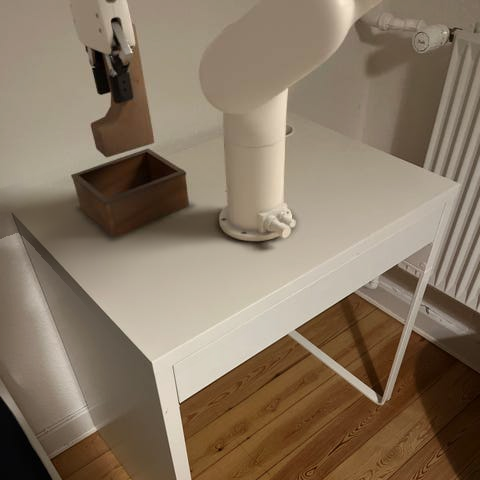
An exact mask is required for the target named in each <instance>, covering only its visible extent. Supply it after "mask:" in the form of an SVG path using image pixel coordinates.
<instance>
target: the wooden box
mask: <svg viewBox="0 0 480 480" xmlns="http://www.w3.org/2000/svg"><path fill="white" fill-rule="evenodd" d="M70 177H71V179H72V181H73V185H74V188H75V191H76V195H77V199H78V202H79V206H80V209H81V210H82V211H83V212H84V213H85V214H86V215H88V216H89V217H90V218H91V219H92V220H93V221H94V222H95V223H96V224H98V225H99V226H100V227H101V228H102V229H103V230H105V231H106V232H107V233H108V234H109V235H110V236H111V237H112V238H116V237H118V236H121V235H123V234H126V233H128V232H131V231H133V230H136V229H137V228H141V227H142V226H144V225H145V226H146V225H147V224H150V223H152V222H154V221H157V220H158V219H162V218H165V217H166V216H169V215H172V214H174V213H176V212H179V211H181V210H183V209H186V208H188V207H190V202H189V192H188V184H187V172H186V171H185V170H183V169H182V168H180V167H179V166H177V165H176V164H174V163H172V162H171V161H169V160H168V159H166V158H165V157H163V156H161V155H160V154H158V153H157V152H155V151H153V150H152V149H150V148H145V149H142V150H139V151H136V152H134V153H133V152H132V153H131V154H128V155H125V156H122V157H119V158H116V159H113V160H110V161H108V162H104V163H101V164H98V165H96V166H93V167H90V168H87V169H84V170H81V171H79V172H75V173H73V174H71V175H70Z"/></svg>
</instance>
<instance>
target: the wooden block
mask: <svg viewBox="0 0 480 480" xmlns="http://www.w3.org/2000/svg"><path fill="white" fill-rule="evenodd" d="M132 27H133V32H134V38H135V47H134V48H132V49H131V50H132V53H133V58H132V59H131V61H130V65H129V67H130V72H129V75H130V80H131V85H132V91H133V96H134V97H133V99H132V100H129V101H125V102H122V103H119V104H116V103H115V102H114V100H113V95H112V91H111V86H110V81H109V77H108V76H110V75H111V74H110V70H109V67H108V64H107V61H106V57H105V54H104V53H102V54H103V59H104V64H105V68H106V73H107V78H108V83H109V87H110V106H109V108H108V110H107V112H106V113H105V114H104V116H103V117H101V118H99V119H97V120H95V121H93V122H91V123H90V129H91V133H92V137H93V141H94V146H95V148H96V150H97V151H98V152H99V153H101V155H102V156H104V157H105V158H111V157H113V156H117V155H120V154H123V153H126V152H129V151H134V150H137V149H141V148H143V147H146V146H149V145H153V144H154V143H155V137H154V131H153V125H152V124H153V123H152V118H151V112H150V106H149V101H148V95H147V88H146V82H145V78H144V71H143V66H142V59H141V54H140V47H139V41H138V35H137V30H136V24H135V23H133V22H132ZM111 49H112V51H115V50H118V47H117V45H116V46H112V47H111ZM118 57H119V55H115V56H112V58H113V61H114V64H115V60H116V58H118Z"/></svg>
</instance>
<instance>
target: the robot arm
mask: <svg viewBox="0 0 480 480" xmlns="http://www.w3.org/2000/svg"><path fill="white" fill-rule="evenodd" d="M68 1H69V6H70V11H71V16H72V20H73V24H74V28H75V31H76V35H77V38H78V40H79V41H80V43H81V44H83V46H84V47H85V52H86V53H87V55H88V56H87V57H88V62H89V65H90V67H91V71H92V75H93V79H94V84H95V88H96V92H97V95H99V96H103V95H106V94H111V92H110V87H109V83H108V78H107V73H106V68H105V64H104V59H103V54H102V53H104V54H105V57H106V61H107V64H108V67H109V70H110V74H111V75H110V76H108V77H109V81H110V86H111V91H112V95H113V100H114V102H115V103H116V104H119V103H122V102H125V101H129V100H132V99H133V97H134V96H133V91H132V85H131V80H130V75H129V72H130V67H129V65H130V61H131V59H132V58H133V53H132V50H131V49H132V48H134V47H135V38H134V32H133V27H132V23H133V22H132V19H131V15H130V8H129V5H128V1H127V0H68ZM382 1H384V0H259V1H258V2H257V3H255V4H254V5H253V6H251V8H250V9H248V10H247V11H246V12H245V13H244V14H243V15H240V16H238V17H237V18H235V19H234V20H233V21H232V22H231V23H230V24H229V25H228V26H226V27H225V28H224V29H223V30H222V31H221V32H220V33H219V34H218V35H217V36H216V37H215V38H213V40H211V41H210V43H209V44H208V45H207V46H206V47H205V49H204V51H203V54H202V56H201V58H200V61H199V68H198V79H199V85H200V89H201V92H202V94H203V96H204V98H205V100H206V101H207V102H208V103H209V104H210V105H211V106H212V107H213V108H214V109H216V110H218V111H219V112H222V132H223V152H224V153H223V155H224V167H225V168H224V169H225V170H224V171H225V189H226V206H225V207H223V209H222V210H221V211H220V213H219V216H218V222H219V223H218V224H219V227H220V229H221V230H222V231H223V232H224V233H225V234H226V235H228V236H229V237H232V238H234V239H237V240H241V241H245V242H246V241H247V242H264V241H269V240H273V239H275V238H278V237H281V238H282V239H287V238H288V237H289V236H290V234H291V231H292V229H293V228H294V227H295V226H296V225H297V220H295V219H294V218H293V215H292V212H291V210H290V209H289V207H288V203H286V202H284V193H285V191H284V190H285V162H286V161H285V159H286V157H285V156H286V155H285V154H286V134H287V110H288V109H287V108H288V96H289V88H290V87H292V86H293V85H294V84H296V83H297V82H299V81H300V80H302V79H303V78H304V77H306V76H308V75H309V74H310V73H312V72H314V71H315V70H316V69H317V68H319V67H320V66H321V65H322V64H324V63H325V62H326V61H327V60H328V59H330V57H331V56H332V55H334V53H336V51H338V49H339V48H340V47H341V45H342V44H343V43H344V41H345V39H346V37H347V35H348V33H349V30H350V29H351V27H352V26H353V25H354V24H355V23H356V22H357V21H358V20H359V19H360V18H361V17H363V16H364V15H366V14H367V13H368V12H369V11H371V10H372V9H374V7H377V5H379V4H380V3H382ZM116 45H117V47H118V50H115V51H112V49H111V47H112V46H116ZM115 55H119V57H118V58H116V60H115V64H114V61H113V58H112V56H115Z"/></svg>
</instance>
